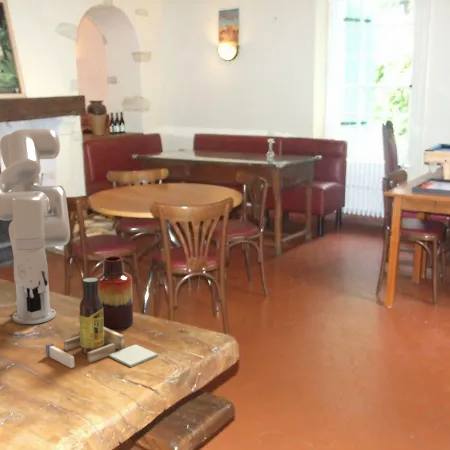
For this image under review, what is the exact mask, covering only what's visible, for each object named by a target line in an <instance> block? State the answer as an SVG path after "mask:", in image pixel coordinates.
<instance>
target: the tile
mask: <svg viewBox="0 0 450 450" xmlns="http://www.w3.org/2000/svg"><path fill="white" fill-rule="evenodd" d="M108 357H109V358H112V359H113V360H115V361H117V362H119V363H121V364H124V365H125V366H127V367H130V368H132V367H134V366H137V365H139V364H141V363H144V362H147V361H149V360H151V359H154V358H156V357H158V353H156V352H155V351H152V350H150V349H147V348H145V347H143V346H140V345H138V344H132V345H131V346H128V347H125V349H122V350H117V351H115V352H114V353H112V354H109V356H108Z"/></svg>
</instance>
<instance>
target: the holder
mask: <svg viewBox="0 0 450 450" xmlns="http://www.w3.org/2000/svg"><path fill="white" fill-rule="evenodd" d="M125 336H126V335H124V334H121V333H119V332H117V331H116V330H110V329H108V328H106V327H104V344H105V345H103V347H101V348H98V349H95V350H93V351H90V352H87V354H86V355H87V362H88V363H94V362H97V361H99V360H101V359H104V358H107V357H109V354H112V353H114V352H116V350H117V351H120V350H122V349H125V348H126V345H125V344H126V343H125V342H126V340H125V339H126V338H125ZM79 347H81V345H80V334H79V335H77V336H74V337H70V338H68V339H65V340H63V348H64V349H63V351H64V350H65V352H67V351H70V350H73V349H75V348H79Z"/></svg>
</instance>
